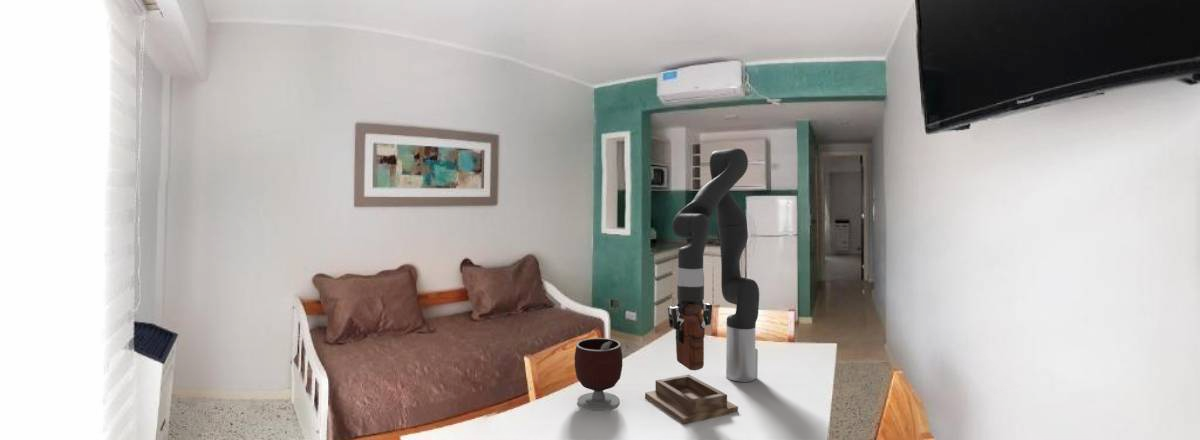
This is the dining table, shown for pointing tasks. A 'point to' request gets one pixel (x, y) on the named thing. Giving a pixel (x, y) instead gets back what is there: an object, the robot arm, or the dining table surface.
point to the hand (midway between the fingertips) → (690, 341)
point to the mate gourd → (598, 372)
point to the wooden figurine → (691, 338)
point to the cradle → (690, 399)
